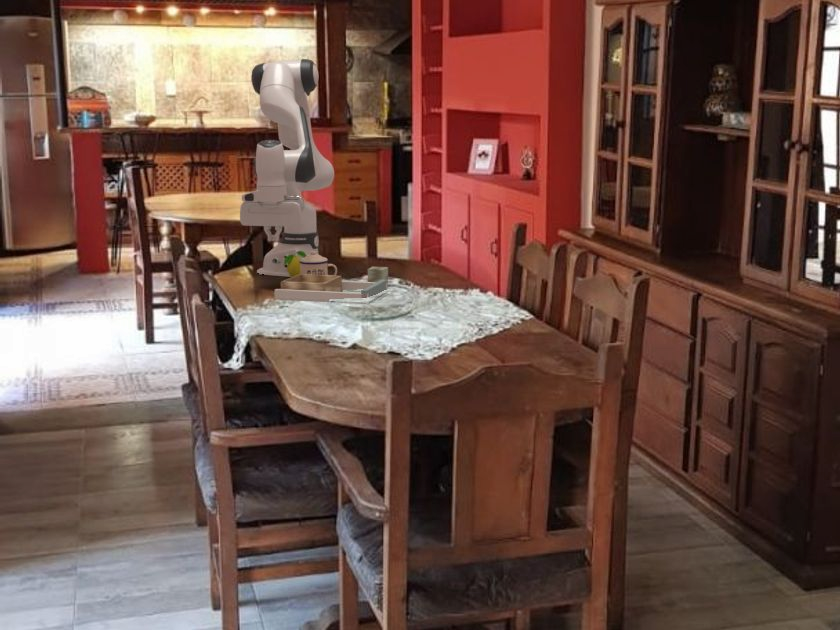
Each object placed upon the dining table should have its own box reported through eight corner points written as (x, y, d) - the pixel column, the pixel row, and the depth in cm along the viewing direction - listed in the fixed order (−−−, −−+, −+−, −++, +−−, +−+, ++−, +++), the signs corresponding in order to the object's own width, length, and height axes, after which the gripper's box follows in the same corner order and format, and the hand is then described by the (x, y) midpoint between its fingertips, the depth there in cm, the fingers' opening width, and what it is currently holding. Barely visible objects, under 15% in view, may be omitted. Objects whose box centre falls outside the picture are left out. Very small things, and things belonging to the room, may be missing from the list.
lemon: (307, 277, 363) (306, 247, 361) (304, 280, 357) (303, 250, 355) (288, 277, 363) (287, 247, 361) (284, 280, 358) (283, 250, 356)
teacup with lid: (302, 290, 338) (301, 254, 336) (297, 285, 347) (296, 250, 345) (340, 288, 342) (339, 252, 339) (334, 283, 350) (333, 248, 348)
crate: (281, 297, 321) (280, 281, 320) (299, 289, 334) (299, 274, 333) (325, 299, 317) (324, 283, 316) (341, 291, 330) (341, 275, 329)
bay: (274, 303, 319) (274, 286, 318) (299, 291, 337) (299, 275, 336) (367, 307, 311) (366, 290, 310) (387, 295, 329) (387, 279, 328)
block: (368, 291, 337) (367, 269, 336) (373, 288, 342) (372, 266, 340) (383, 291, 336) (382, 269, 334) (388, 289, 340) (387, 267, 339)
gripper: (308, 194, 323) (309, 240, 326) (245, 193, 329) (247, 238, 332) (299, 196, 317) (301, 243, 320) (236, 195, 323) (238, 241, 326)
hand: (273, 241), depth 326 cm, fingers closed
